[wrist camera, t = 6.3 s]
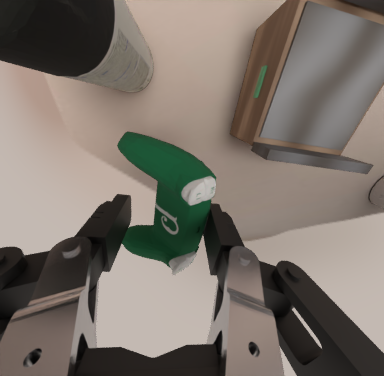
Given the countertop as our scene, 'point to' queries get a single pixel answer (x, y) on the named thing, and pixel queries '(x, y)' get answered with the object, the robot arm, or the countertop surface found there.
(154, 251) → the gaming controller
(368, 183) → the countertop surface
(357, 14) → the charging cradle
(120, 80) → the spray can
